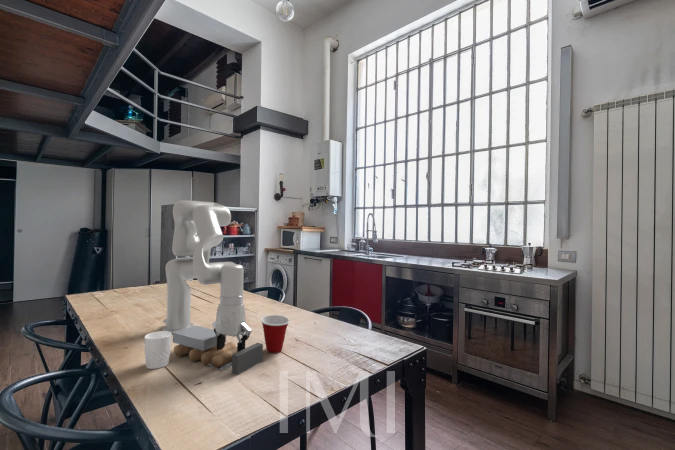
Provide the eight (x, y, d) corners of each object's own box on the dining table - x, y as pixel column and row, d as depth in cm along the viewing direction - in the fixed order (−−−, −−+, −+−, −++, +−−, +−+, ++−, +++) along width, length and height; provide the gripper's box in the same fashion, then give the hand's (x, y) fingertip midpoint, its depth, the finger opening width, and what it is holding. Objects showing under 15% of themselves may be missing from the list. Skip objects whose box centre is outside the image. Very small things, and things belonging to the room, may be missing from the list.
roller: (212, 355, 106) (219, 358, 105) (239, 343, 117) (246, 346, 115) (211, 365, 106) (218, 369, 105) (238, 353, 117) (245, 356, 115)
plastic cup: (274, 358, 114) (274, 324, 114) (254, 351, 121) (254, 319, 121) (295, 349, 123) (295, 318, 123) (275, 342, 129) (276, 313, 130)
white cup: (151, 372, 102) (152, 340, 102) (138, 366, 106) (139, 335, 106) (175, 363, 109) (176, 334, 109) (162, 358, 113) (163, 329, 113)
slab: (172, 342, 117) (172, 332, 117) (195, 334, 126) (196, 325, 126) (203, 350, 109) (203, 340, 109) (225, 341, 118) (226, 332, 118)
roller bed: (173, 355, 115) (173, 344, 115) (201, 345, 126) (201, 334, 126) (209, 366, 107) (209, 354, 107) (235, 354, 117) (236, 343, 118)
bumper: (231, 373, 102) (232, 354, 102) (257, 359, 113) (257, 342, 113) (237, 375, 101) (237, 356, 101) (262, 361, 112) (262, 343, 112)
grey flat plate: (209, 366, 107) (209, 363, 107) (235, 354, 118) (235, 351, 118) (222, 370, 104) (222, 367, 104) (248, 357, 115) (248, 354, 115)
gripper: (205, 299, 111) (204, 349, 111) (243, 305, 103) (242, 359, 103) (221, 295, 118) (220, 342, 118) (258, 301, 110) (257, 351, 110)
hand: (230, 350), depth 111 cm, fingers open, 9 cm apart
